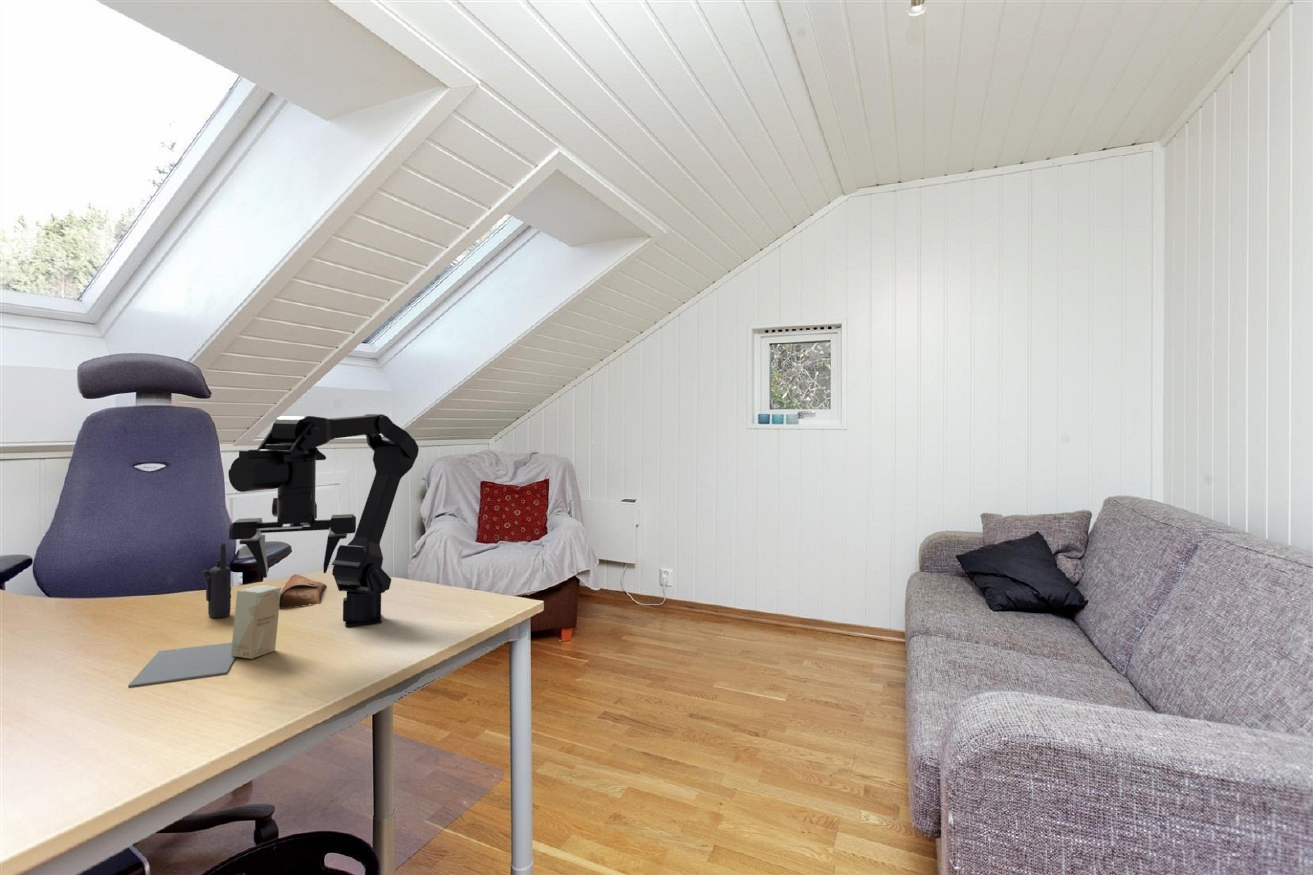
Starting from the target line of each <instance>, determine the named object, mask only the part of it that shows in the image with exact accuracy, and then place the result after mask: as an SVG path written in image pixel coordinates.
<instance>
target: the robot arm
mask: <svg viewBox="0 0 1313 875" xmlns="http://www.w3.org/2000/svg"><path fill="white" fill-rule="evenodd" d="M364 435H365V438H366V444H367V445H368V447H370V449H371V450H372V451H373V456H372V461H373V466H374V470H375V475H374V477H373V480H372V483H371V487H370V489H369V493H368V494H367V499H366V502H365V505H364V507H363V510H362V513H361V516H360V519H359V522H358V523H357V517H356V516H355V515H354V514H353V513H352V514H351V513H347V514H346V513H344V514H332V515H331V517H330V519H317V518H318V504H317V501H316V482H317V481H316V469H317V468H316V467H317V465H316V463H317V461H325V460H326V459H327V456H326V455H325V454H324V453H322V452H321V451H320V450H319V449H318V447H321V446H324V445H326V444H328V443H329V442H330V441H332V440H335V439H340V438H341V439H343V438H348V437H351V438H352V437H359V436H364ZM419 449H420V448H419V445H418V443H417V442H416V440H415V439H414V438H413V437H412V436H411V435H410V433H408V431H406V430H404V429H403V428H401V427H400V426H398V425H397V424H395V423H394V422H393V421H392V419H390V417H389V416H387V415H385V414H382V413H381V414H380V413H379V414H378V413H377V414H374V413H369V414H368V413H367V414H365V415H357V416H345V417H333V418H331V417H330V418H328V417H327V418H326V417H320V416H313V415H281V416H278V417H277V418H275V421H274V422H273V425H272V427H271V429H270V430H269V432H268V433H267V435H266V436H265V438H264V439H263V440H262V441H261V443H260V445H259V446H258V448H257V449H239V451H238V457H237V458H235V459H234V460H233V462H232V463H231V465H230V469H229V470H228V480H229V484H230V485H231V487H232V488H233V489H234V490H235V491H237V492H239V493H246V492H255V491H256V492H258V491H266V490H267V491H269V490H275V489H277V497H273V498H272V504H271V505H272V506H271V514H272V517H276V518H277V519H276V520H277V521H265V522H264V521H263V517H249V518H245V517H244V518H238V519H237V520H235V521H233V523H231V524H230V525H229V528H228V540H230V541H231V540H232V541H235V540H239V541H238V542H239V544H238V545H246V547H247V548H248V550H249V551H250V554H252V556H253V557H254V559H255V562H256V563H257V566H258V568H259V570H260V573H261V575H262V576H263V578H264V579H266V578H268V574H269V573H268V570H269V567H268V559H267V558H268V557H267V550H266V549H267V548H266V534H267V533H268V534H270V533H272V534H273V533H286V532H287V533H290V532H291V533H292V532H293V533H294V532H312V531H313V532H314V531H329V533H328V536H327V540H326V548H325V552H324V559H323V571H322V572H323V574H327V571H328V568H329V566H330V562H331V559H332V557H333V554H334V552H335V550H336V548H337V551H336V555H335V557H334V560H333V561H332V563H331V566H333V568H332V570H331V572H332V573H331V575H332V576H333V578H334V580H335V583H336V587H337V589H338V590H337V591H338V592H346V597H343V599H342V600H343V601H342V621H343V622H345V626H344V627H355V626H356V627H357V626H365V625H373V624H380V623H382V622H383V619H382V618H383V617H382V594H384V593H386V591H389V590H390V587H391V584H392V578H391V577H390V576H389V575H388V574H387V573H386V572H385V570H384V569H383V568H382V567H383V562H384V556H383V552H382V549H381V540H382V537H383V534H384V531H385V528H386V526H387V523H388V519H389V515H390V512H391V510H392V506H393V503H394V500H395V497H396V495H397V490H398V487H399V484H400V482H401V479H402V478H403V477H404V476H405V475H406V474H407V473H408V472H410V470H411V469H412V468H413V466H414V464H415V462H416V460H417V457H418V456H419V451H420V450H419ZM357 524H358V525H357ZM284 525H287V526H284ZM348 534H349V535H350V534H354V536H353V539H351V541H350V542H349V543H347V544H340V545H339V547H337V546H338V544H339V542H340V540H344V539H347V536H348Z"/></svg>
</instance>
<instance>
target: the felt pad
mask: <svg viewBox="0 0 1313 875" xmlns="http://www.w3.org/2000/svg"><path fill="white" fill-rule="evenodd" d="M231 649H232V641H231V642H225V643H215V644H208V645H199V646H191V647H182V648H176V649H175V648H174V649H165V650H158V651H157V652H156V654H155V655H154V656H153V657H152V658H151V660H149V661H148V663H147V664H146V665H145V666H144V667H143V668H142V669H141V670H140V671H139V672H138V674H137V675H136V676H135V677H133V679H132V681H130V683H129V684H128V685H127V686H128V688H132V687H133V688H134V687H139V686H141V687H142V686H149V685H154V684H162V683H170V682H177V681H183V680H191V679H198V678H205V677H212V676H219V675H227V674H228V673H229V670H230V669H231V667H232V665H233V663H234V661H235V659H236V658H237V656H231Z"/></svg>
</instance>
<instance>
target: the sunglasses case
mask: <svg viewBox="0 0 1313 875" xmlns="http://www.w3.org/2000/svg"><path fill="white" fill-rule="evenodd" d="M325 586H326V587H327V584H325V583H323V582H319V581H316V580H311V579H309V578H307V577H306V576H302V575H299V574H293V575H292V576H291V577H290V578H289V579H288V581H287V582H286V583H285V585H284V587H283V588H282V589H281V592H280V603H279V610H280V609H289V607H290V608H296V607H295V606H300V607H303V606H302V605H309V604H319V605H320V604H321V596H322V593H323V591H324V589H325V588H326V587H325ZM309 606H310V605H309Z"/></svg>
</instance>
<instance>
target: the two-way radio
mask: <svg viewBox="0 0 1313 875" xmlns="http://www.w3.org/2000/svg"><path fill="white" fill-rule="evenodd" d="M226 546H227V545H226V544H225V543H221V544H220V552H219V553H220V554H219V555H220V556H219V557H220V558H219V559H217V560H216V564H215V566H213V567H212V568H210V569H209V570H207V569H205V570H202V576H203V578H204V581H205V600H206V601H207V602H208V603H207V604H208V605H207V609H208V610H207V612H208V613H207V614H208V616H209V617H210V618H216V619H220V618H226V617H229V616H230V614H231V609H232V608H231V605H232V604H231V601H232V600H231V598H232V593H231V592H232V586H231V584H232V570H231V568H230V567H228V566H227V553H226V552H227V551H226V550H227V548H226Z"/></svg>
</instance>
